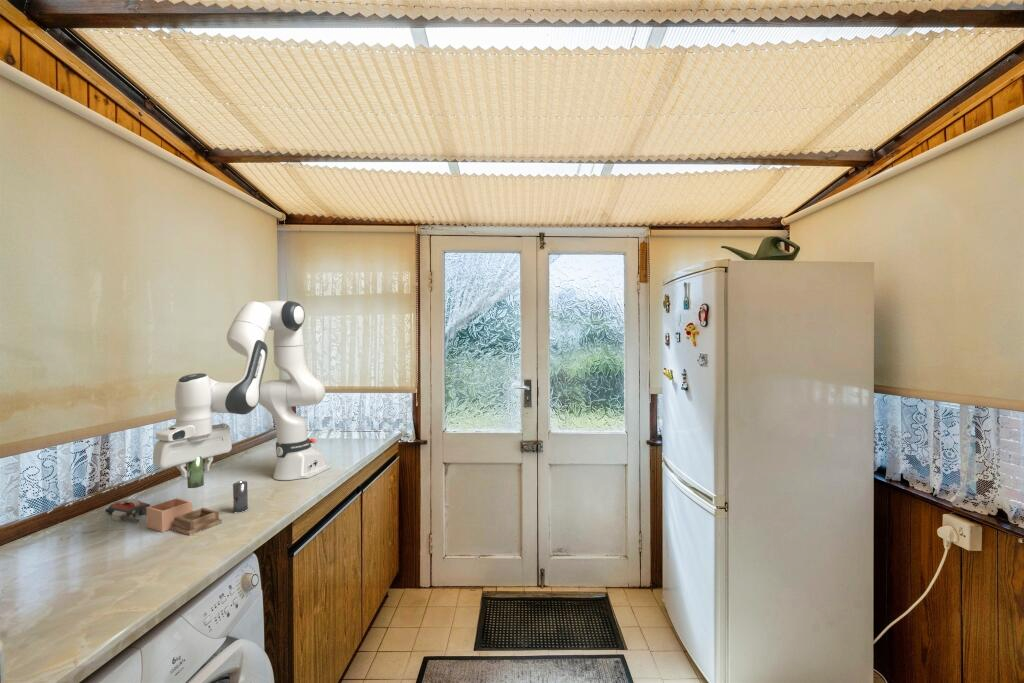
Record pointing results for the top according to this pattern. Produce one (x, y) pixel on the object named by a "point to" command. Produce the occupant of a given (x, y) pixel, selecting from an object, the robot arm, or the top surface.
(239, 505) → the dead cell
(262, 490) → the top surface
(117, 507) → the walkie-talkie
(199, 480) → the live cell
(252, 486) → the top surface
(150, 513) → the cup
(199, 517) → the cell holder
